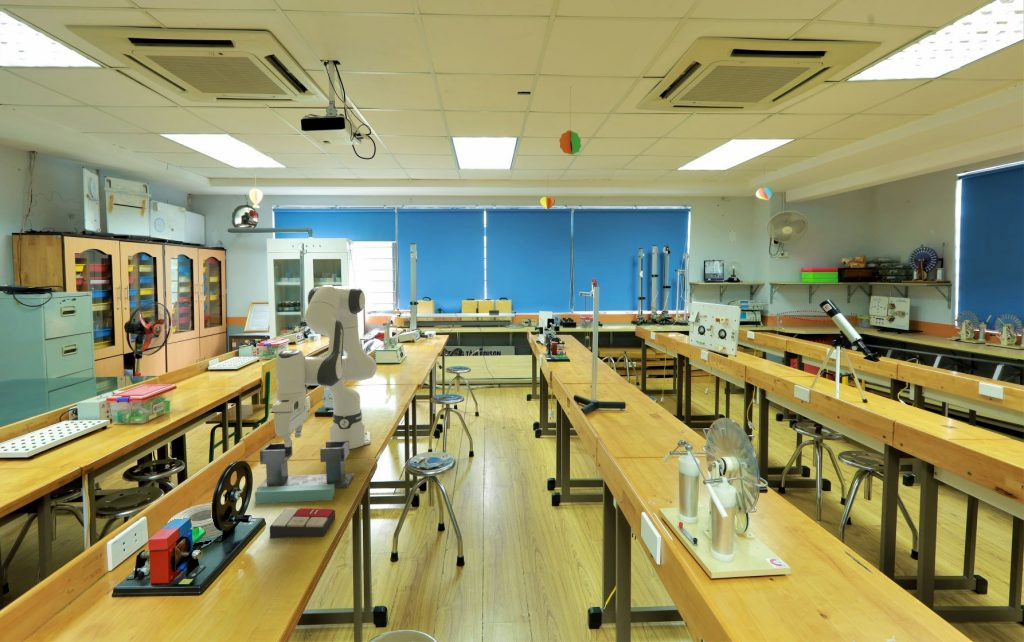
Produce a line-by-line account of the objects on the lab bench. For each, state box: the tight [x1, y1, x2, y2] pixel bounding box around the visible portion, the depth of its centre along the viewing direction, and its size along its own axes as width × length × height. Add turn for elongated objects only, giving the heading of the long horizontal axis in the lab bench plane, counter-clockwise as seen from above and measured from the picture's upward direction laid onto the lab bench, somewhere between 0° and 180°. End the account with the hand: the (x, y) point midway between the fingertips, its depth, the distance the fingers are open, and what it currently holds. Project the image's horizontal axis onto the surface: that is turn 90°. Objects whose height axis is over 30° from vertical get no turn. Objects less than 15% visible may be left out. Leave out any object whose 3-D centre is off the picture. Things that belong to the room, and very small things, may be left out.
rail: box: [254, 484, 336, 504], centre depth 163 cm, size 4×24×4 cm, turn 95°
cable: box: [167, 502, 220, 539], centre depth 142 cm, size 18×18×6 cm
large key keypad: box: [269, 507, 336, 539], centre depth 145 cm, size 11×4×15 cm
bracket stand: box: [256, 440, 355, 491], centre depth 175 cm, size 10×30×14 cm, turn 96°
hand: (293, 441), depth 162 cm, fingers open, 8 cm apart
